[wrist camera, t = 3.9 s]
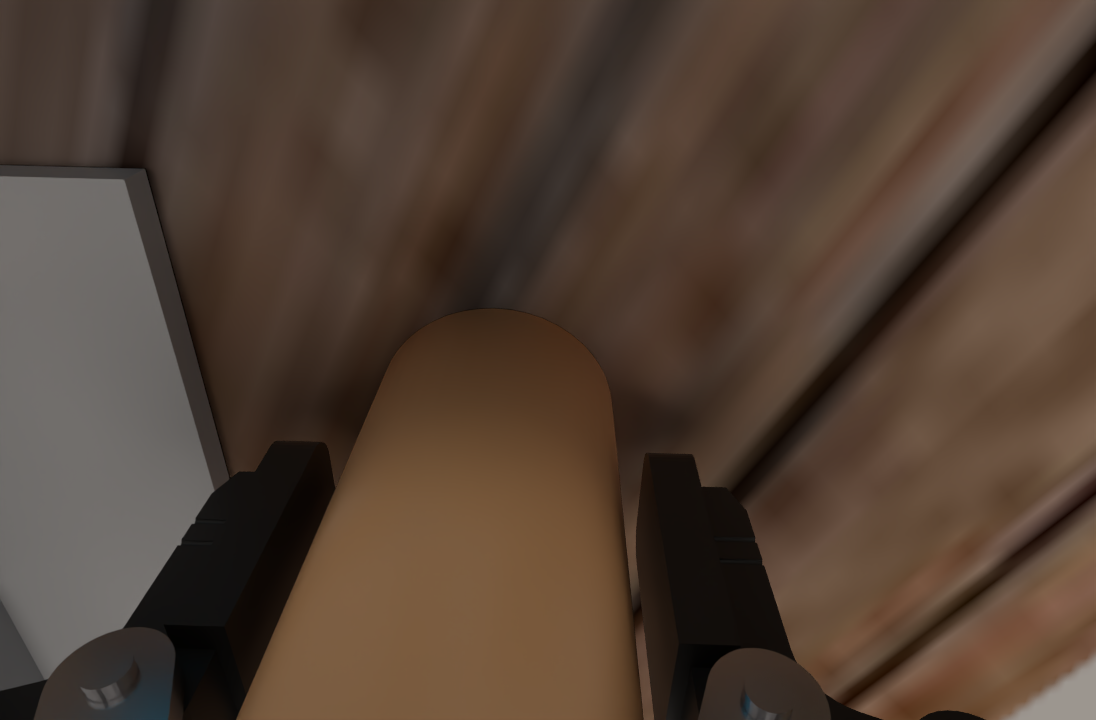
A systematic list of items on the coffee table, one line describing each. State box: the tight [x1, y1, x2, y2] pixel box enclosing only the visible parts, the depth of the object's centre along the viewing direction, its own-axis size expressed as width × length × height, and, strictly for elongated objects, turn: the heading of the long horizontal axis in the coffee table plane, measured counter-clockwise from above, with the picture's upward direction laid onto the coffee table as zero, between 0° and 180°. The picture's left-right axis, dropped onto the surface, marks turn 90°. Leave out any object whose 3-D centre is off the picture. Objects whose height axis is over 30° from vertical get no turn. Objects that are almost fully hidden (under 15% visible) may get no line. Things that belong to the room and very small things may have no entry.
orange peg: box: [236, 308, 644, 720], centre depth 10 cm, size 4×4×8 cm
